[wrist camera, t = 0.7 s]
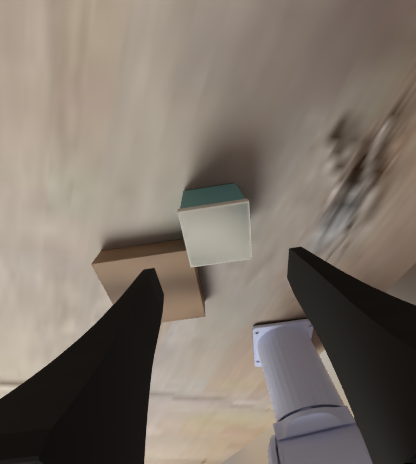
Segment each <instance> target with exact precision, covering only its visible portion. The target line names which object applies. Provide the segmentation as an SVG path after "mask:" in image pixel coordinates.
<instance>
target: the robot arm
mask: <svg viewBox="0 0 416 464" xmlns="http://www.w3.org/2000/svg"><path fill="white" fill-rule="evenodd" d="M287 278H288V281H289V283H290V286H291V288H292V290H293V293H294V295H295V297H296V298H297V300H298V302H299V304H300V305H301V307H302V309H303V311H304V312H305V314H306V316H307V317H308V319H302V320H295V321H287V322H280V323H272V324H265V325H257V326H254V327H253V347H254V364H255V366H256V367H260V366H262V369H263V372H264V376H265V380H266V384H267V388H268V392H269V395H270V399H271V403H272V407H273V411H274V414H275V418H276V422H277V423H274V424H273V427H274V431H275V435H273V436H271V438H270V443H269V446H268V462H269V464H416V306H415V305H413V304H410V303H408V302H405V301H403V300H400V299H398V298H396V297H393V296H391V295H389V294H387V293H384V292H382V291H380V290H378V289H376V288H373V287H371V286H369V285H367V284H365V283H363V282H361V281H359V280H358V279H356V278H354V277H352V276H350V275H348V274H346V273H344V272H343V271H341V270H339V269H337V268H336V267H334V266H332V265H331V264H329V263H327V262H326V261H324V260H322V259H321V258H319V257H317V256H316V255H314V254H312V253H311V252H309V251H308V250H306V249H304V248H302V247H296V248H289V260H288V273H287ZM163 305H164V293H163V290H162V287H161V284H160V282H159V279H158V276H157V273H156V270H155V268H150V269H143V271H142V272H141V273H140V274H139V275H138V277H137V278H136V279H135V280H134V281H133V283H132V284H131V285H130V286H129V287H128V289H127V290H126V291H125V292H124V293H123V295H122V296H121V297H120V298H119V299H118V300H117V301H116V303H115V304H114V305H113V306H112V307H111V308H110V309H109V310H108V311H107V312H106V313H105V314H104V316H103V317H102V318H101V319H100V320H99V321H98V322H97V323H96V324H95V325H94V326H92V327H91V328H90V329H89V330H88V331H87V332H86V333H85V334H84V335H83V336H82V337H81V338H80V339H78V340H77V341H76V342H75V343H74V344H72V345H71V346H70V347H69V348H68V349H67V350H65V351H64V352H63V353H62V354H61V355H59V356H58V357H57V358H56V359H54V360H53V361H52V362H51V363H49V364H48V365H47V366H45V367H44V368H43V369H42V370H40V371H39V372H38V373H36V374H35V375H34V376H32V377H31V378H30V379H28V380H27V381H25V382H24V383H23V384H21V385H20V386H18V387H17V388H16V389H14V390H13V391H11V392H10V393H8V394H7V395H5V396H4V397H2V398H1V399H0V464H144V456H145V439H146V425H147V412H148V402H149V391H150V382H151V373H152V365H153V359H154V353H155V349H156V344H157V339H158V334H159V329H160V325H161V320H162V314H163ZM313 328H314V329H315V331H316V333H317V335H318V336H319V338H320V340H321V342H322V344H323V346H324V348H325V350H326V352H327V355H328V357H329V359H330V361H331V363H332V365H333V368H334V370H335V372H336V374H337V377H338V379H339V381H340V383H341V385H342V388H343V390H344V392H345V395H346V397H347V400H348V402H349V405H350V407H351V409H352V412H353V414H354V418H353V416H352V414H351V413H350V411H349V409H348V407H347V406H345V405H344V403H343V401H342V399H341V397H340V395H339V394H338V392H337V390H336V388H335V386H334V384H333V382H332V380H331V378H330V376H329V374H328V372H327V370H326V369H325V366H324V364H323V362H322V360H321V358H320V357H319V355H318V353H317V351H316V349H315V347H314V345H313V343H312V341H311V338H312V333H313ZM354 419H355V420H354Z"/></svg>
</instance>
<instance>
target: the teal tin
mask: <svg viewBox="0 0 416 464" xmlns="http://www.w3.org/2000/svg"><path fill="white" fill-rule="evenodd" d="M178 216H179V221H180V225H181V229H182V233H183V237H184V242H185V246H186V250H187V254H188V258H189V262H190V267H198V266H205V265H212V264H219V263H226V262H233V261H240V260H247V259H252V256H251V232H250V209H249V200H248V199H245V198H244V196H243V194H242V192H241V191H240V189H239V187H238V186H237V184H236V183H232V184H226V185H219V186H213V187H206V188H200V189H193V190H187V191H183V196H182V202H181V207H180V209H178Z"/></svg>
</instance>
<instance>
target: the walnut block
mask: <svg viewBox="0 0 416 464" xmlns="http://www.w3.org/2000/svg"><path fill="white" fill-rule="evenodd" d="M91 265H92V266H93V268H94V270H95V272H96V274H97V276H98V278H99V279H100V281H101V283H102V285H103V287H104V289H105V290H106V292H107V294H108V296H109V298H110V300H111V301H112V303H113V305H114V304H115V303H116V301H117V300H118V299H119V298H120V297H121V296H122V295H123V293H124V292H125V291H126V290H127V289H128V287H129V286H130V285H131V284H132V283H133V281H134V280H135V279H136V278H137V277H138V275H139V274H140V273H141V272H142V271H143V269H150V268H155V270H156V273H157V276H158V279H159V282H160V284H161V287H162V290H163V293H164V305H163V314H162V320H161V322H168V321H176V320H183V319H190V318H198V317H205V301H204V296H203V292H202V287H201V282H200V278H199V273H198V268H197V267H190V262H189V258H188V254H187V250H186V246H185V242H184V239H178V240H171V241H165V242H158V243H151V244H144V245H137V246H130V247H123V248H117V249H110V250H103V251H101V252H100V253H99V254H98V256H97V257H96V259H95V260H94V261H93V263H92V264H91Z"/></svg>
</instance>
